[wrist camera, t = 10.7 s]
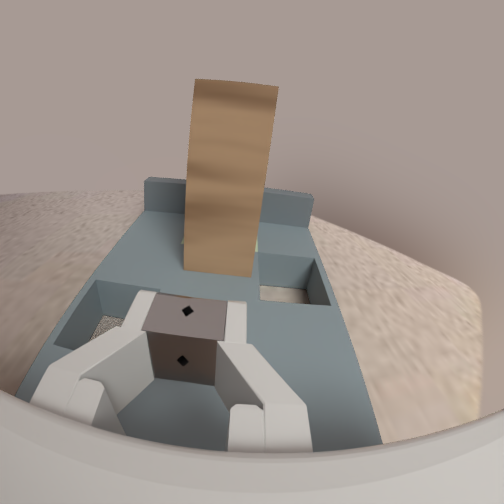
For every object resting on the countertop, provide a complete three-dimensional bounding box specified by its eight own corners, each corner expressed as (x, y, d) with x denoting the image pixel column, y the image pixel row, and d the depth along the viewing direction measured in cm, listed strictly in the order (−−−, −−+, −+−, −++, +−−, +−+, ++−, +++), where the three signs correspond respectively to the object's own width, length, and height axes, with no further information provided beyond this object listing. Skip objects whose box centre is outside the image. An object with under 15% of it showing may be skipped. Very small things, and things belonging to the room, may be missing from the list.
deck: (365, 524, 8) (445, 484, 5) (20, 477, 7) (-52, 411, 4) (299, 248, 31) (311, 193, 28) (149, 231, 30) (149, 176, 27)
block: (251, 277, 20) (278, 86, 14) (183, 269, 19) (195, 78, 14) (251, 228, 27) (269, 92, 21) (201, 222, 26) (213, 87, 21)
